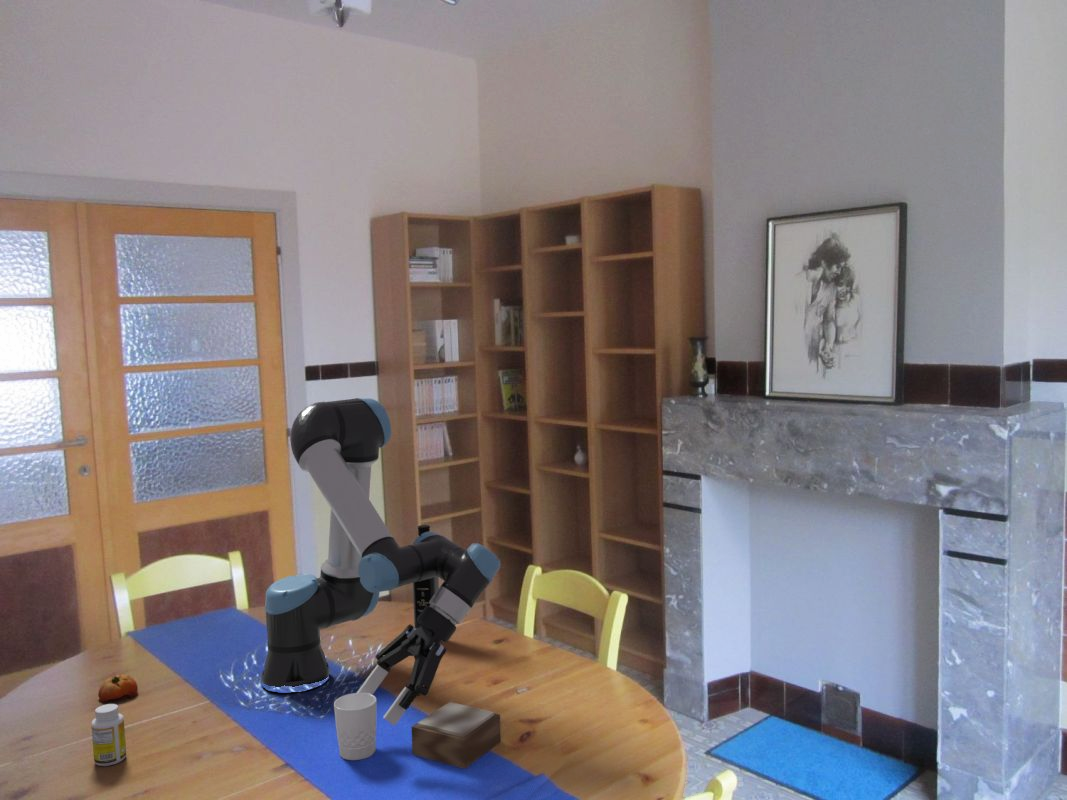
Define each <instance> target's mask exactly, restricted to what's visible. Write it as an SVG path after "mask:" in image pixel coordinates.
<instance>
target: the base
mask: <svg viewBox="0 0 1067 800" xmlns="http://www.w3.org/2000/svg"><path fill="white" fill-rule="evenodd" d="M501 735H502V734H501V714H500V713H495V712H494V711H491V710H486V709H483V708H478V707H473V706H468V705H465V704H460V703H456V702H452V701H449V702H448V703H446V704H444V705H442V706H441V707H439V708H438V709H436V710H435V711H433V712H432V713H430V714H429V715H427V716H426V717H424V718H422V719H421V720H419V721H418V722H417V723H415V724H414V725H412V726H411V742H412V743H411V747H412V748H411V749H412V755H414V756H416V757H419V758H420V757H421V758H424V759H427V760H431V761H435V762H438V763H442V764H445V765H449V766H453V767H457V768H460V769H465V770H466V769H467V768H468V767H470V766H471V765H472V764H474V763H475V762H477V760H479V759H480V758H482V757H483V756H485V754H487V753H488V752H489V751H490V750H492V749H493V748H494V747H496V746H497V745H498V744H499V743H501V742H502V740H501V739H502V738H501V737H502V736H501Z"/></svg>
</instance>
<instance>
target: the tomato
mask: <svg viewBox="0 0 1067 800" xmlns="http://www.w3.org/2000/svg"><path fill="white" fill-rule="evenodd" d="M138 690H139V688H138V684H137V681H136V680H135V679H134V678H133V677H131V676H130V675H125V674H115V675H113V676H111V677H109V678H107V679H106V680H104V681H103V683H102V684H101V685H100V687H99V689H98V693H97V694H98V699H99V701H100V702H101V703H103V702H106V701H108V700H117V699H120V698H122V697H123V696H126V695H127V696H129V698H128V700H130V699H132V698H133V697H134V696H137V695H138Z"/></svg>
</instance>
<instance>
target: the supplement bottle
mask: <svg viewBox="0 0 1067 800" xmlns="http://www.w3.org/2000/svg"><path fill="white" fill-rule="evenodd" d="M94 717H95V718H93V720H92V721H91V722H90V723H91V724H90V725H91V737H92V740H91V741H92V751H93V762H94V763H95V765H97V766H99V767H109V766H113V765H116V764H118V763H121V762H123V761H124V759H126V757H127V745H126V744H127V742H126V741H127V740H126V732H125V731H126V730H125V729H126V728H125V717H124V715H123V714H121V713H120V710H119V705H117V704H116V703H107V704H103V705H99V706H98V707H96V708H95V711H94Z"/></svg>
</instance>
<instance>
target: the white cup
mask: <svg viewBox="0 0 1067 800" xmlns="http://www.w3.org/2000/svg"><path fill="white" fill-rule="evenodd" d="M333 709H334V719H335V728H336V736H337V739H336V740H337V742H338V749H339V757H341V758H342V759H343V760H348V761H359V760H365V759H368V758H369V757H371V756H373V755H374V754H375V752H376V749H377V747H376V743H377V742H376V738H377V697H376V696H375V695H374V694H368V693H357V692H355V693H354V692H353V693H348V694H344V695H341V696H340V697H338V698H337V699H335V700H334V702H333Z"/></svg>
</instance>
